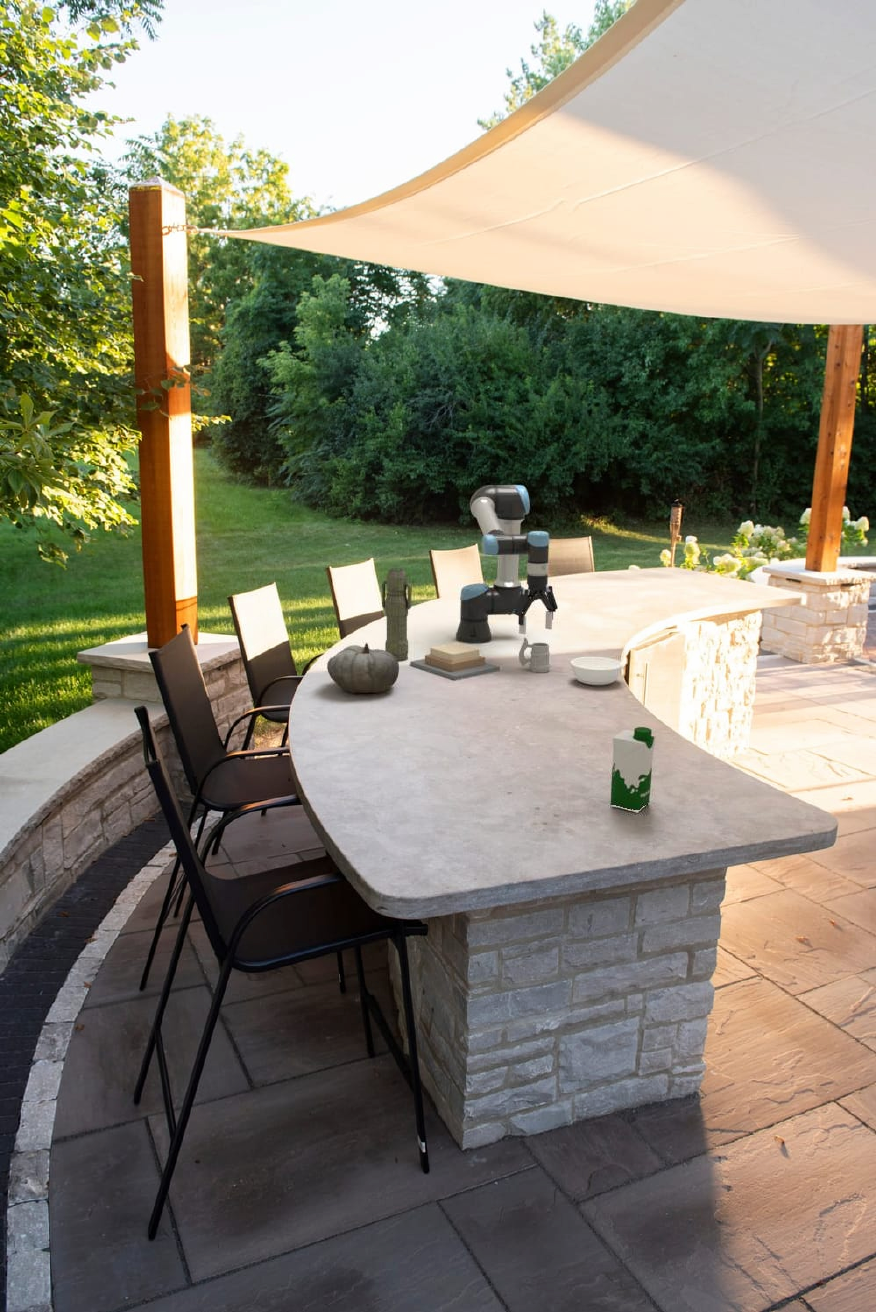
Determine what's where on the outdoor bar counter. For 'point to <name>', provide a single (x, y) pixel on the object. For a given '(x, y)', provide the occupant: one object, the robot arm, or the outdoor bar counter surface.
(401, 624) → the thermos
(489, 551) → the robot arm
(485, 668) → the plinth board
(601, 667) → the bowl
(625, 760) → the milk carton
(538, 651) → the mug
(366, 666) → the gourd
